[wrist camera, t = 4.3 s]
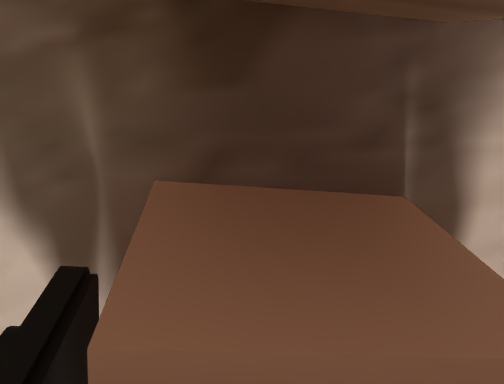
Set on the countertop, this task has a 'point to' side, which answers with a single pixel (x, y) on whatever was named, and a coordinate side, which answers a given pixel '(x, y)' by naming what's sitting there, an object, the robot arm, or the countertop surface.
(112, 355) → the terracotta block
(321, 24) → the countertop surface
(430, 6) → the walnut block
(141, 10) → the countertop surface
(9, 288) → the countertop surface
